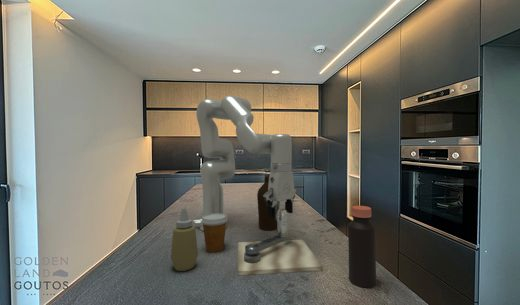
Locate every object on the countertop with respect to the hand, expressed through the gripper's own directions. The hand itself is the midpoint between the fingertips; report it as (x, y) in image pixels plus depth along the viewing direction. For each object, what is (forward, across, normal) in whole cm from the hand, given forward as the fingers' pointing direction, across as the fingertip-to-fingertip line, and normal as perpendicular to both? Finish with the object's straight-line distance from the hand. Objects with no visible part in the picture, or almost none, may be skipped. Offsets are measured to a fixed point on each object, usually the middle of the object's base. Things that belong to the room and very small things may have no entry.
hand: (280, 215), depth 87 cm
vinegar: (+12, -2, -30) cm, 33 cm away
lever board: (+12, -6, -3) cm, 14 cm away
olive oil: (+13, +15, +20) cm, 28 cm away
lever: (+9, -8, -1) cm, 12 cm away
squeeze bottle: (+13, -31, +13) cm, 36 cm away
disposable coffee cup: (+13, -16, +17) cm, 27 cm away
